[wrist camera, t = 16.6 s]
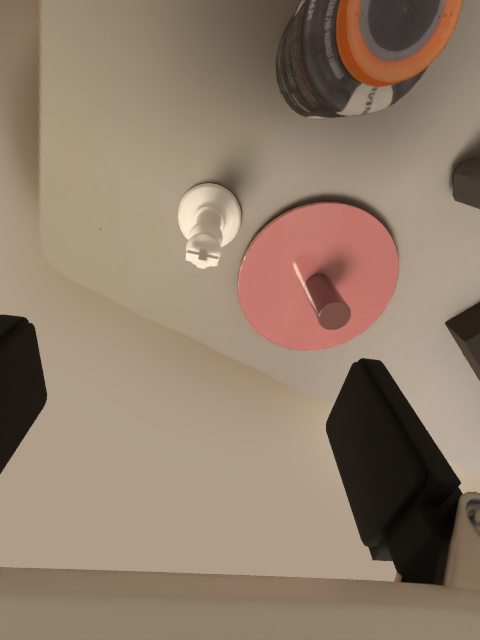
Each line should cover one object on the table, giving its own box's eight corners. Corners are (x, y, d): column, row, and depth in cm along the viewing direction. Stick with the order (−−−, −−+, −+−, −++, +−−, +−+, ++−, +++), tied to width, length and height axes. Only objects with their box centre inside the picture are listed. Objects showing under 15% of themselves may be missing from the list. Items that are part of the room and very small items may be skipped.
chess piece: (182, 175, 24) (158, 204, 15) (248, 192, 24) (259, 228, 16) (174, 240, 26) (148, 296, 17) (233, 253, 27) (236, 313, 18)
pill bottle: (346, 128, 22) (437, 132, 13) (264, 106, 22) (295, 92, 12) (384, 16, 19) (541, -90, 10) (290, -15, 19) (360, -165, 9)
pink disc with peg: (226, 334, 31) (226, 378, 26) (253, 185, 24) (261, 202, 19) (359, 350, 33) (385, 394, 27) (420, 215, 26) (470, 238, 20)
